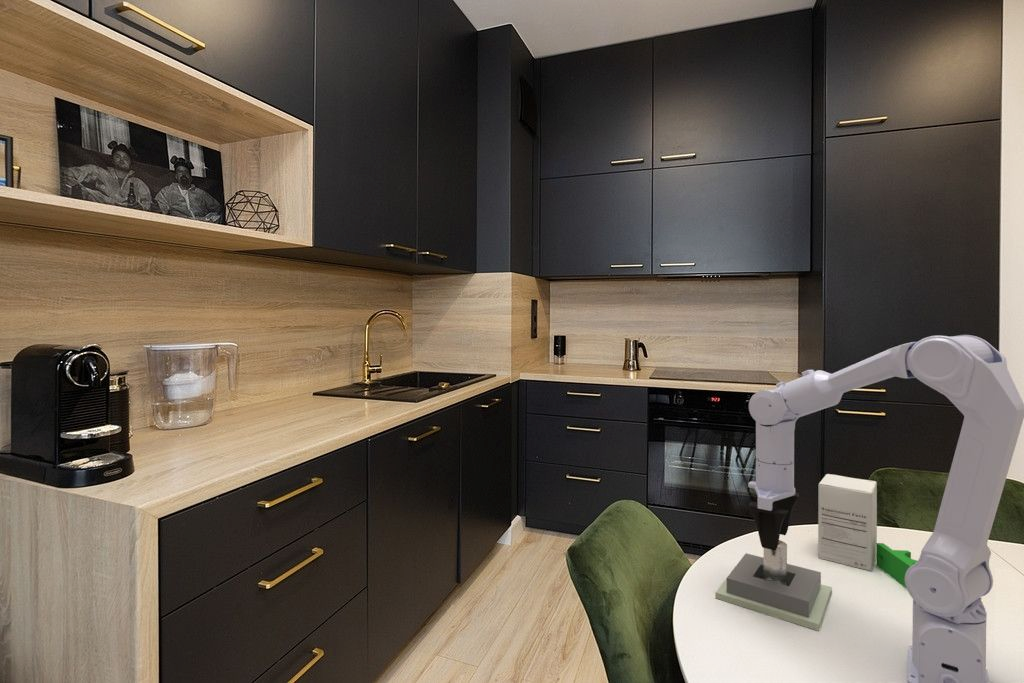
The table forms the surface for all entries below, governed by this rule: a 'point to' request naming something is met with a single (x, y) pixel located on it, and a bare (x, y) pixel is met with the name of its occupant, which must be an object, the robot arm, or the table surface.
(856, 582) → the table surface
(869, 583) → the table surface
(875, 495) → the supplement box
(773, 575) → the silver metal cylinder
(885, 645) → the table surface
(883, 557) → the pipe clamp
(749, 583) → the dock
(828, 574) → the table surface
